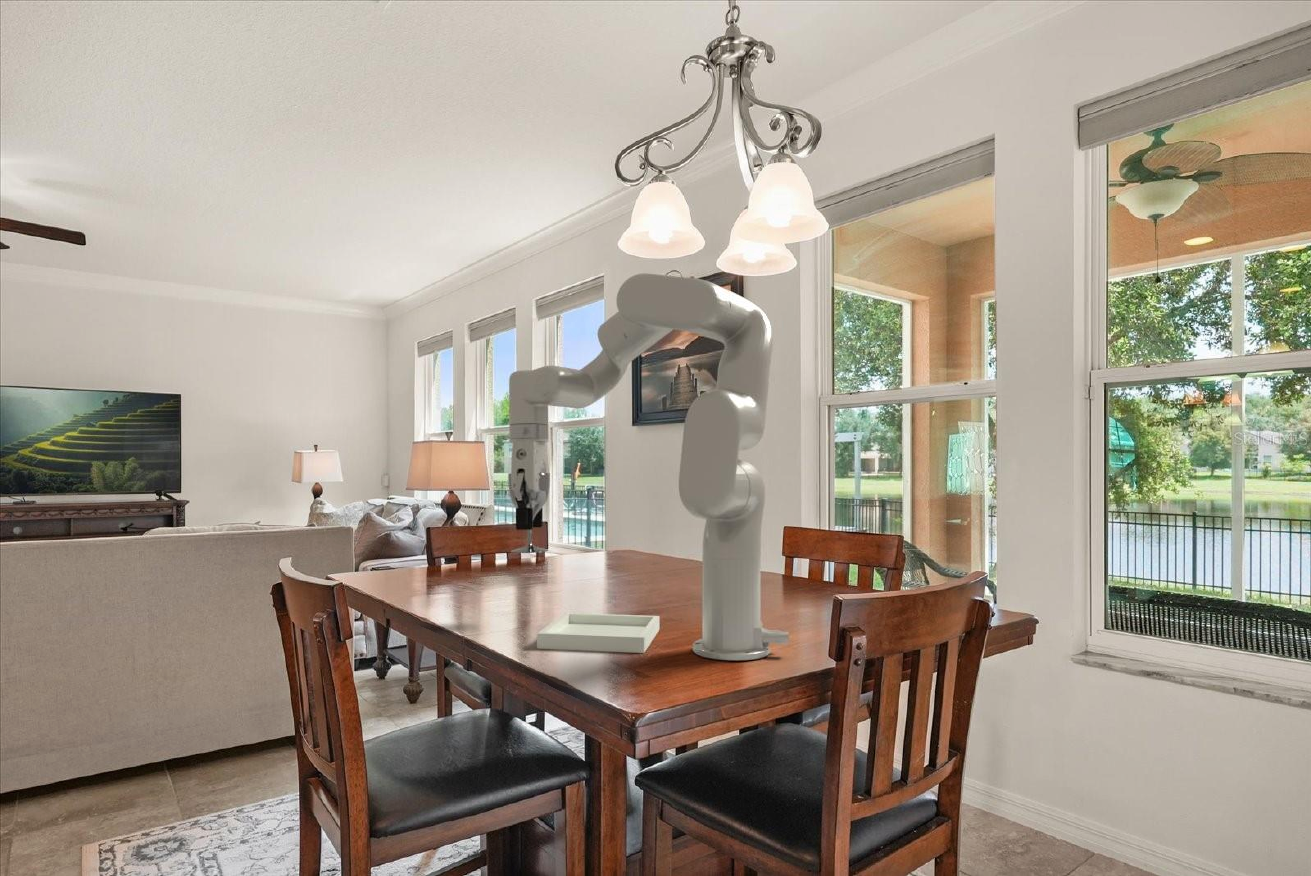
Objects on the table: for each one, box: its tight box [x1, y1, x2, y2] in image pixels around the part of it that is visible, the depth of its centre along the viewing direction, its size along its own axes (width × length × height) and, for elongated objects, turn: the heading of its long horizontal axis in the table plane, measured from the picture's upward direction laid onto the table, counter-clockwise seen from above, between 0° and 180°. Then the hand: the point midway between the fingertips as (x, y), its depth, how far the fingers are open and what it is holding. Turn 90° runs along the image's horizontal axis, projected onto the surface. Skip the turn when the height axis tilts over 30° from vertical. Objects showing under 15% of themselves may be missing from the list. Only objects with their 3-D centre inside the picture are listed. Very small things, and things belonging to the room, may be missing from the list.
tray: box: [536, 612, 660, 654], centre depth 134 cm, size 18×18×2 cm
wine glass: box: [507, 472, 551, 554], centre depth 147 cm, size 8×8×15 cm
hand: (529, 527), depth 147 cm, fingers closed on wine glass, 5 cm apart
